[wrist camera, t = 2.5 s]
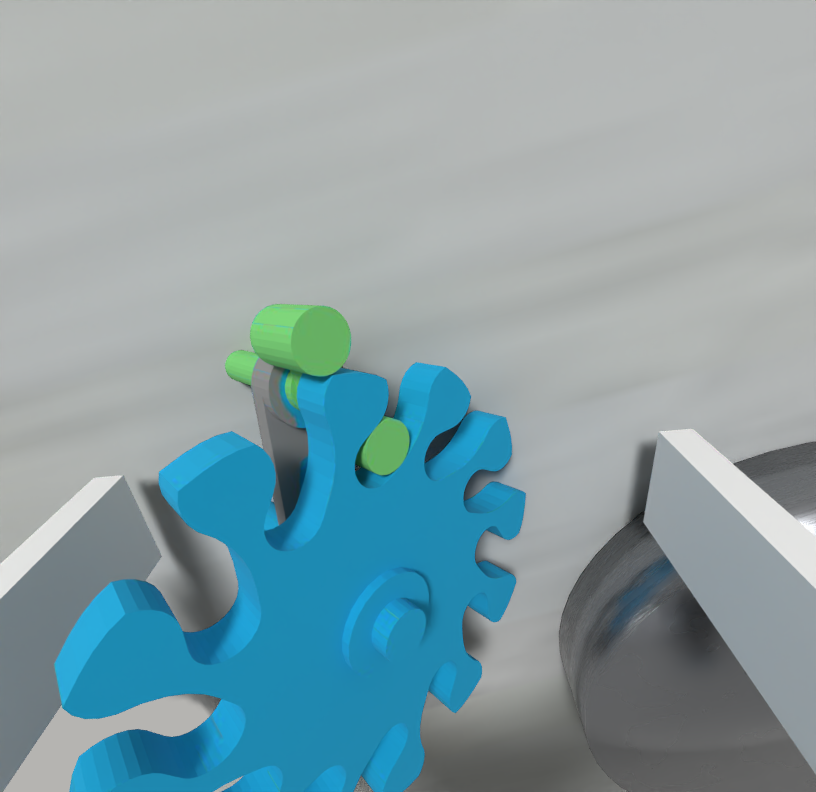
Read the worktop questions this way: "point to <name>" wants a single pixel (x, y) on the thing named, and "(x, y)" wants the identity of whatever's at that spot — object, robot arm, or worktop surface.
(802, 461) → the dark grey frying pan
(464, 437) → the gear
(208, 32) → the worktop surface
